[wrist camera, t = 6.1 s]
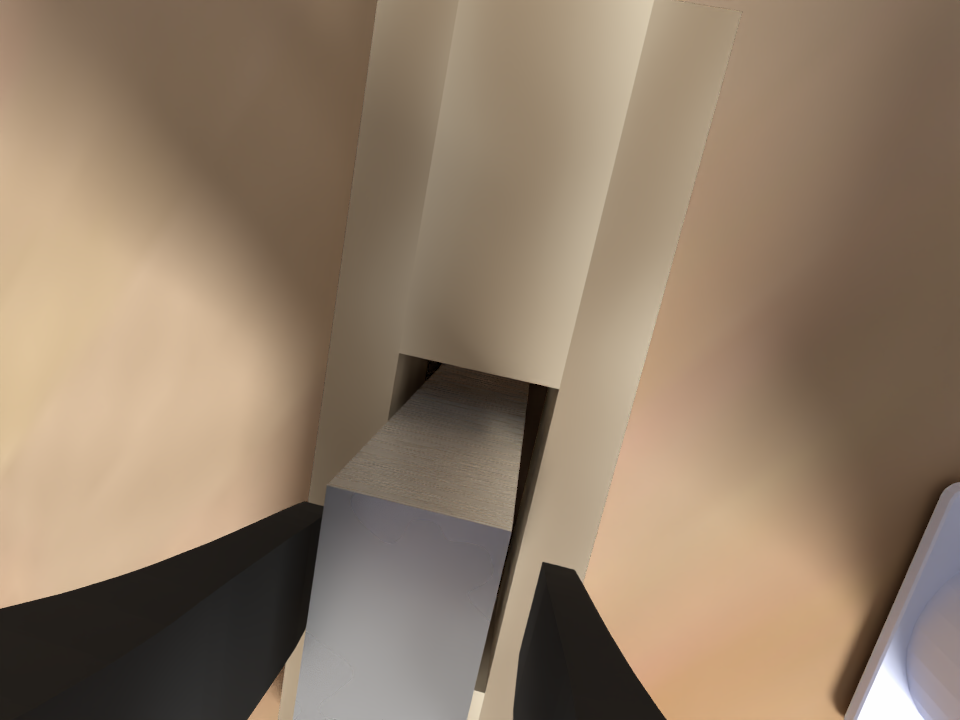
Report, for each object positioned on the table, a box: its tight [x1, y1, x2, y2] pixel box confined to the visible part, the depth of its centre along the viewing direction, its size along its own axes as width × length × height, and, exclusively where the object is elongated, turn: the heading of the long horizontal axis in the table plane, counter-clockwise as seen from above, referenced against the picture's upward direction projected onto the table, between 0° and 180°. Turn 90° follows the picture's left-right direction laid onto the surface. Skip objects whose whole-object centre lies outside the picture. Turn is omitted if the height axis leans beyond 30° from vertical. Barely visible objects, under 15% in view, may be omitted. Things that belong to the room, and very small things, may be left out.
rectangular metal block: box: [293, 363, 530, 720], centre depth 11 cm, size 2×6×8 cm, turn 169°
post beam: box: [278, 0, 742, 720], centre depth 13 cm, size 6×22×4 cm, turn 169°
